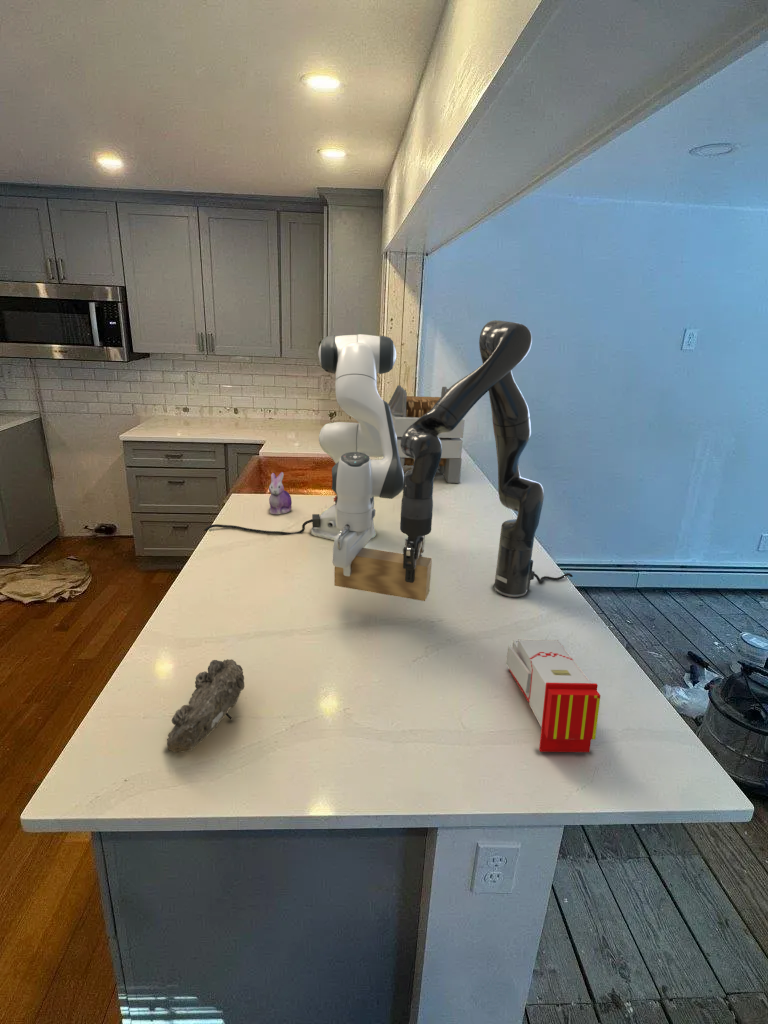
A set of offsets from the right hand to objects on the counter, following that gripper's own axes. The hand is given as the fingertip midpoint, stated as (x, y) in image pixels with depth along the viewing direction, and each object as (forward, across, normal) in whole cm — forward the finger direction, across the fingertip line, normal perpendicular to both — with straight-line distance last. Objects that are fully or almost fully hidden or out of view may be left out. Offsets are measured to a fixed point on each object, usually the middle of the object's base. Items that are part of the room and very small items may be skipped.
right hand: (412, 576), depth 141 cm
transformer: (+12, +136, +28) cm, 139 cm away
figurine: (+12, +61, +66) cm, 90 cm away
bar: (+5, 0, +8) cm, 9 cm away
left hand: (+1, 0, +16) cm, 16 cm away
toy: (+12, -23, -33) cm, 43 cm away
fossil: (+12, -48, +27) cm, 57 cm away
